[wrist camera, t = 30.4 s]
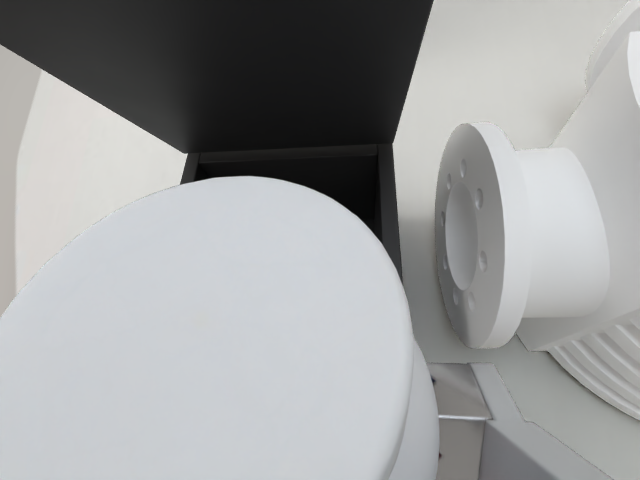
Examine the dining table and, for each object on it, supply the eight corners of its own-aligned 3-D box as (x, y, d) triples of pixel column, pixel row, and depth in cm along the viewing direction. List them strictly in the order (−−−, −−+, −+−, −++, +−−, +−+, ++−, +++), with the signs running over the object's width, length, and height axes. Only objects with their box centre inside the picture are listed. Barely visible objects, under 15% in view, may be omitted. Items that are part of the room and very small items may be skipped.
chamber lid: (507, -257, 4) (491, -635, 4) (-283, -122, 5) (-258, -418, 6) (393, 143, 18) (390, 49, 19) (183, 153, 20) (184, 65, 20)
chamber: (395, 423, 20) (413, 429, 13) (199, 415, 21) (119, 416, 14) (384, 215, 26) (392, 142, 19) (232, 219, 27) (187, 152, 20)
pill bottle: (400, 601, 10) (652, 1214, 1) (203, 554, 11) (-412, 703, 2) (402, 383, 14) (472, 143, 5) (254, 363, 15) (91, 139, 6)
